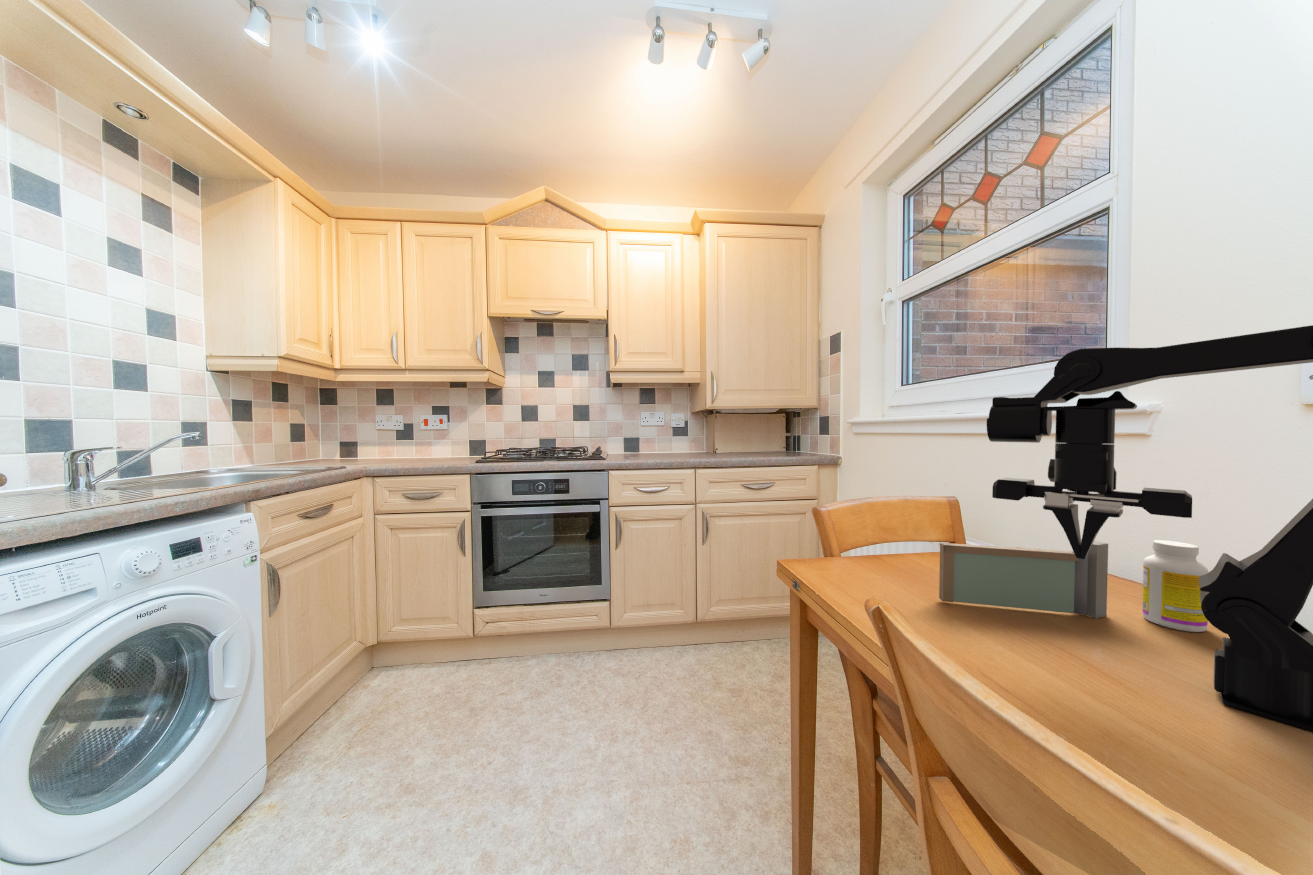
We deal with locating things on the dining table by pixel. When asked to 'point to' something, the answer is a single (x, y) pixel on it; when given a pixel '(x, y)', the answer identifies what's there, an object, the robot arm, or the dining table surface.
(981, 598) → the gate
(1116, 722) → the dining table surface
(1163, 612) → the supplement bottle
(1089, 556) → the gatepost
